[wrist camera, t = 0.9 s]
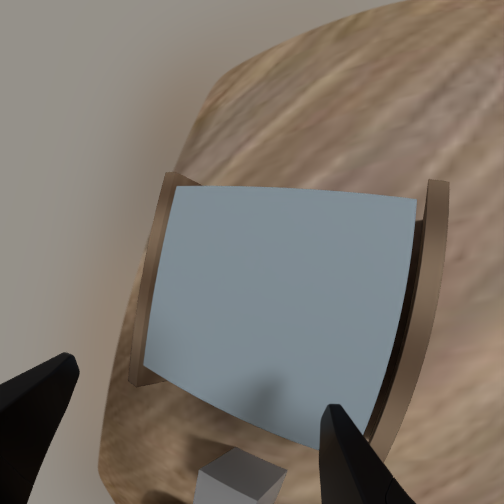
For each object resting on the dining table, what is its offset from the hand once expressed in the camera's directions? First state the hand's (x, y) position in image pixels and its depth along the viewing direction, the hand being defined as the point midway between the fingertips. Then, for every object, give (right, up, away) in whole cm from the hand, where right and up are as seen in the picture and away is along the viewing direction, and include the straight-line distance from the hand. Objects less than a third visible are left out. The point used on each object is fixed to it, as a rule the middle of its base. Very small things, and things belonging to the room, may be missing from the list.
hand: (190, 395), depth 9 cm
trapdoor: (+4, +1, +10) cm, 11 cm away
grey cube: (+2, -15, +11) cm, 18 cm away
